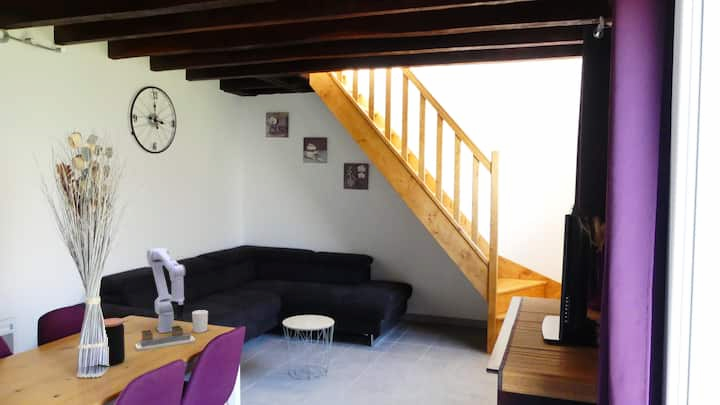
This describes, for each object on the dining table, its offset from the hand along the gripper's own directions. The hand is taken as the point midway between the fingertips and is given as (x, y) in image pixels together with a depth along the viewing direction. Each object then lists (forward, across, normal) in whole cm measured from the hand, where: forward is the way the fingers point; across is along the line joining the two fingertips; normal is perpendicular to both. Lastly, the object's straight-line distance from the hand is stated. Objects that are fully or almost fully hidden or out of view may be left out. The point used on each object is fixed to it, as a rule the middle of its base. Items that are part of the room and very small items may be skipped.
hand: (178, 316), depth 265 cm
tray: (+10, +10, -8) cm, 16 cm away
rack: (+10, +2, -8) cm, 13 cm away
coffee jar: (+11, +23, -33) cm, 42 cm away
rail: (+9, +9, -8) cm, 15 cm away
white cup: (+11, -5, +12) cm, 17 cm away
